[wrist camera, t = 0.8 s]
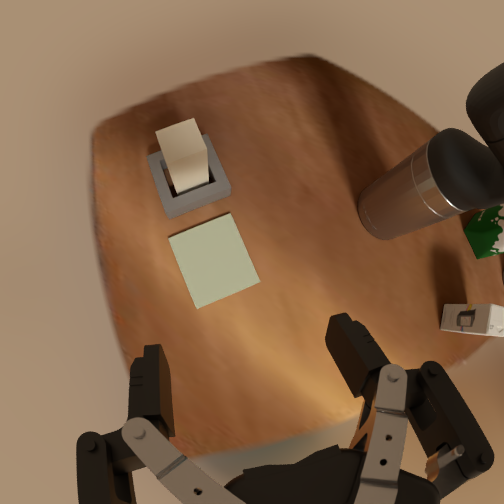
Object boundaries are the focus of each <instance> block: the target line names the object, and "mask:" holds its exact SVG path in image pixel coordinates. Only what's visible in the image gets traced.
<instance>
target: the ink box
mask: <svg viewBox="0 0 504 504" xmlns="http://www.w3.org/2000/svg"><path fill="white" fill-rule="evenodd" d="M440 330H445V331H452V332H459V333H468V334H477V335H486V336H500V337H504V307H502V306H498V305H495V304H444V309H443V315H442V322H441V327H440Z"/></svg>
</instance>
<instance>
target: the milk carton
mask: <svg viewBox="0 0 504 504" xmlns="http://www.w3.org/2000/svg"><path fill="white" fill-rule="evenodd" d="M464 232H465V234H466V236H467V238H468V241H469V243H470V245H471V247H472V249H473V251H474V253H475V256H476V258H477V259H480V258H485V257H489V256H493V255H498V254H502V253H504V204H500V205H497V206H494V207H491V208H488V209H485V210H483V211H481V212H478V213H476V214H475V215H474V216H473V218H472V219H471V221H470V222H469V223H468V225H467V226H466V228H465V229H464Z"/></svg>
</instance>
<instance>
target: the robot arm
mask: <svg viewBox="0 0 504 504" xmlns="http://www.w3.org/2000/svg"><path fill="white" fill-rule="evenodd" d="M466 111H467V114H468V117H469V118H470V120H471V122H472V124H473V125H474V127H475V129H476V130H477V132H478V133H479V134H480V136H481V137H482V138H483V140H484V141H485V143H486V144H487V145H488V147H487V146H485V145H483V144H481V143H480V142H478V141H477V140H475V139H474V138H472V137H471V136H470V135H468V134H467V133H465V132H463V131H461V130H459V129H455V128H448V129H445V130H443V131H441V132H439V133H438V134H437V135H436V136H434V137H433V138H432V139H430V140H429V141H428V142H426V143H425V144H424V145H422V146H421V147H420V148H418V149H417V150H416V151H415V152H413V153H412V154H411V155H409V156H408V157H407V158H405V159H404V160H403V161H401V162H400V163H399V164H397V165H396V166H395V167H393V168H392V169H391V170H389V171H388V172H387V173H385V174H384V175H383V176H381V177H380V178H379V179H377V180H376V181H375V182H373V183H372V184H371V185H369V186H368V187H367V188H365V189H364V190H363V191H362V193H361V195H360V197H359V201H358V212H359V216H360V219H361V221H362V223H363V225H364V227H365V228H366V229H367V230H368V232H369V233H371V234H372V235H373V236H375V237H377V238H379V239H382V240H389V239H393V238H396V237H399V236H402V235H404V234H407V233H410V232H413V231H416V230H418V229H421V228H424V227H427V226H429V225H432V224H435V223H437V222H440V221H443V220H445V219H448V218H451V217H453V216H456V215H458V214H461V213H463V212H466V211H469V210H472V209H474V208H477V209H487V208H491V207H494V206H497V205H500V204H504V63H502V64H500V65H499V66H497V67H496V68H494V69H493V70H491V71H490V72H488V73H487V74H486V75H484V76H483V77H482V78H481V79H480V80H479V81H478V82H477V83H476V84H475V85H474V86H473V88H472V89H471V91H470V92H469V95H468V97H467V100H466ZM325 342H326V346H327V348H328V350H329V352H330V354H331V356H332V357H333V359H334V361H335V363H336V365H337V367H338V368H339V370H340V372H341V374H342V376H343V377H344V379H345V381H346V383H347V385H348V387H349V389H350V390H351V392H352V394H353V396H354V398H357V397H359V396H363V398H364V401H363V404H362V409H361V413H360V417H359V421H358V425H357V429H356V432H355V435H354V437H353V439H352V441H351V444H350V446H349V449H347V448H344V449H343V448H341V449H339V446H338V444H337V445H334V446H331V447H329V448H326V449H323V450H320V451H317V452H315V453H313V454H311V455H309V456H308V457H306V458H304V459H303V460H301V461H299V462H297V463H295V464H287V465H265V466H260V467H255V468H250V469H244V470H243V474H242V475H239V476H238V477H236V478H234V479H232V480H231V481H230V482H228V483H227V484H226V485H225V486H224V487H222V486H221V485H220V484H219V483H217V482H216V481H214V480H213V479H212V478H211V477H209V476H208V475H207V474H206V473H205V472H204V471H202V470H201V469H200V468H199V467H198V466H197V465H195V464H194V463H193V462H192V461H191V460H190V459H188V458H187V457H186V456H184V455H183V454H182V453H181V452H179V451H178V450H177V449H176V448H175V447H174V446H173V445H172V444H171V443H170V442H169V437H175V430H174V419H173V407H172V393H171V376H170V369H169V365H168V362H167V359H166V357H165V354H164V351H163V348H162V346H161V344H155V345H145V346H144V357H140V358H135V360H134V362H133V363H132V365H131V368H130V383H129V385H130V387H129V406H128V419H127V421H126V423H125V424H124V426H123V427H122V428H120V429H119V430H117V431H114V432H111V433H108V434H105V435H100V434H98V433H96V432H86V433H83V434H82V435H81V436H80V437H79V438H78V440H77V447H76V456H77V458H76V459H77V487H78V500H79V504H137V503H136V497H135V492H134V485H133V477H132V471H134V470H137V469H141V468H144V467H148V468H149V469H150V471H152V473H153V474H154V475H155V476H156V477H157V479H158V480H159V481H160V482H161V483H162V484H163V485H164V486H165V487H166V488H167V489H168V490H169V491H170V492H171V493H172V494H173V495H174V496H175V497H176V498H177V499H179V500H180V501H181V502H182V503H183V504H440V500H441V499H442V498H444V497H445V496H447V495H448V494H450V493H451V492H452V491H454V490H455V489H457V488H458V487H459V486H461V485H462V484H464V483H466V482H468V481H469V480H471V479H473V478H475V477H477V476H479V475H480V474H482V473H484V472H485V471H487V470H489V469H490V468H491V466H492V464H493V462H494V452H493V450H492V448H491V446H490V444H489V442H488V440H487V439H486V437H485V435H484V433H483V431H482V430H481V428H480V426H479V425H478V423H477V421H476V419H475V418H474V416H473V414H472V413H471V411H470V409H469V408H468V406H467V405H466V403H465V401H464V399H463V398H462V397H461V395H460V393H459V392H458V390H457V388H456V387H455V385H454V384H453V383H452V381H451V379H450V378H449V376H448V375H447V373H446V372H445V370H444V369H443V367H442V366H441V365H440V364H439V363H437V362H435V361H427V362H425V363H423V365H422V366H421V368H420V369H410V370H404V369H403V368H402V367H400V366H399V365H396V364H391V363H390V361H389V360H388V358H387V357H386V356H385V354H384V353H383V351H382V350H381V348H380V347H379V346H378V344H377V343H376V341H374V338H373V337H372V336H371V335H370V333H369V331H368V330H367V329H366V327H365V326H364V325H362V324H361V323H360V322H358V321H357V320H356V321H352V319H351V318H350V317H349V315H348V314H347V313H341V314H337V315H333V316H331V317H330V320H329V324H328V328H327V332H326V336H325ZM428 399H429V400H428ZM432 406H433V407H432ZM404 412H405V413H404ZM408 420H409V422H410V423H411V425H412V427H413V429H414V431H415V433H416V435H417V437H418V439H419V441H420V443H421V445H422V447H423V449H424V451H425V453H426V455H427V457H428V460H427V463H426V468H425V473H426V474H427V479H425V478H422V477H419V476H416V475H414V474H412V473H409V472H407V471H404V470H402V469H400V465H401V460H402V455H403V450H404V443H405V437H406V430H407V423H408Z"/></svg>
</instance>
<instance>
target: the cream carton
mask: <svg viewBox="0 0 504 504" xmlns="http://www.w3.org/2000/svg"><path fill="white" fill-rule="evenodd" d="M155 133H156V136H157V139H158V141H159V144H160V147H161V150H162V153H163V156H164V159H165V162H166V164H167V167H168V170H169V173H170V176H171V178H172V181H173V184H174V186H175V189H176V192H177V195H178V196H180V195H183V194H185V193H188V192H190V191H193V190H195V189H198V188H201V187H203V186H206V185H209V174H208V154H207V147H206V145H205V143H204V140H203V138H202V136H201V134H200V131H199V129H198V127H197V124H196V122H195V120H194V118H192V119H189V120H186V121H183V122H180V123H177V124H175V125H172V126H169V127H166V128H164V129H161V130H158V131H156V132H155Z"/></svg>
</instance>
